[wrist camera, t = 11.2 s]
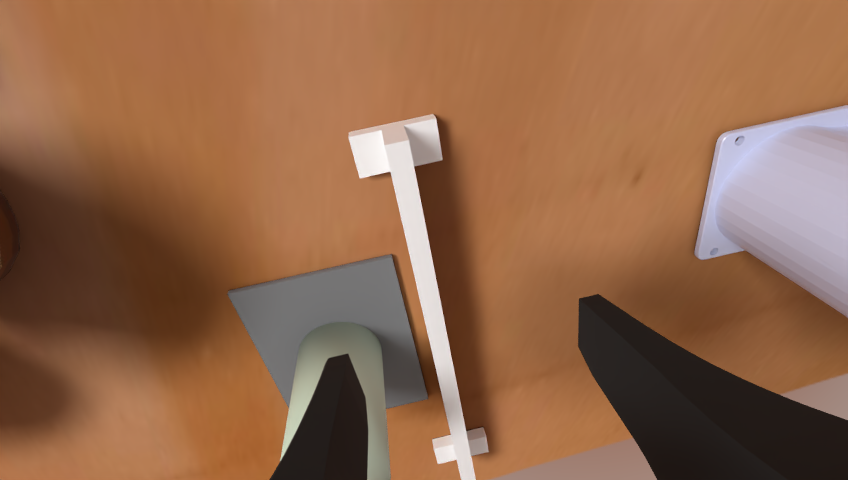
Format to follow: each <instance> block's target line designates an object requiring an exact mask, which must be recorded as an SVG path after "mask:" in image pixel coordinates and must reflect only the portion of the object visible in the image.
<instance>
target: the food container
mask: <svg viewBox="0 0 848 480" xmlns="http://www.w3.org/2000/svg"><path fill="white" fill-rule="evenodd" d="M19 250H20V243H19V228H18V224H17V221H16V218H15V215H14V213H13V211H12V209H11V207H10V205H9V203H8V201H7V200H6V198H5V197H4V196H3V194H2V193H1V192H0V280H1V279H2V278H3V277H4V276H5V275H6V274H7V273H8V272H9V271H10V269H11V267H12V265H13V263H14V261H15V259H16V256H17V254H18V252H19Z"/></svg>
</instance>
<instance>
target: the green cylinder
mask: <svg viewBox="0 0 848 480" xmlns="http://www.w3.org/2000/svg"><path fill="white" fill-rule="evenodd" d="M344 354H349V357H350V359H351V362H352V364H353V367H354V369H355V372H356V374H357V377H358V379H359V382H360V384H361V387H362V389H363V392H364V394H365V397H366V407H367V419H368V469H367V480H390V479H391V474H390V460H389V446H388V432H387V418H386V404H385V389H384V375H383V361H382V348H381V344H380V341H379V340H378V338H377V337H376V335H375V334H374V333H373V332H372V331H370V330H369V329H367V328H365V327H363V326H361V325H358V324H355V323H350V322H334V323H329V324H325V325H322V326H320V327H317V328H316V329H314V330H312V331H311V332H310V333H308V334H307V335H306V336H305V338H304V339H303V340H302V342H301V344H300V347H299V352H298V358H297V364H296V370H295V376H294V382H293V388H292V394H291V400H290V406H289V412H288V418H287V424H286V430H285V436H284V442H283V448H282V454H281V459H282V457H283V456H284V454H285V452H286V450H287V448H288V446H289V444H290V442H291V440H292V438H293V436H294V434H295V433H296V431H297V429H298V427H299V424H300V422H301V420H302V418H303V416H304V414H305V411H306V409H307V407H308V405H309V403H310V400H311V398H312V396H313V393H314V391H315V389H316V386H317V384H318V381H319V379H320V376H321V374H322V371H323V368H324V366H325V363H326V361H327V359H328V358H331V357H335V356H339V355H344ZM281 459H280V461H281Z"/></svg>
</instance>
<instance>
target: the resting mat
mask: <svg viewBox="0 0 848 480" xmlns="http://www.w3.org/2000/svg"><path fill="white" fill-rule="evenodd" d="M228 296H229V298H230V300H231V302H232V303H233V305H234V307H235V309H236V311H237V313H238V315H239V316H240V318H241V320H242V322H243V324H244V326H245V328H246V330H247V331H248V333H249V335H250V337H251V339H252V341H253V343H254V344H255V346H256V348H257V350H258V352H259V354H260V356H261V357H262V359H263V361H264V363H265V365H266V367H267V369H268V370H269V372H270V374H271V376H272V378H273V380H274V382H275V383H276V385H277V387H278V389H279V391H280V393H281V395H282V396H283V398H284V400H285V402H286V404H287V406H288V408H289V406H290V400H291V394H292V388H293V382H294V376H295V370H296V364H297V358H298V352H299V347H300V344H301V342H302V340H303V339H304V338H305V336H306V335H307V334H308V333H310V332H311V331H312V330H314V329H316V328H317V327H320V326H322V325H325V324H329V323H334V322H350V323H355V324H358V325H361V326H363V327H365V328H367V329H369V330H370V331H372V332H373V333H374V334H375V335H376V337H377V338H378V340H379V341H380V344H381V348H382V361H383V375H384V389H385V404H386V409H387V408H392V407H396V406H400V405H404V404H409V403H413V402H417V401H421V400H425V399H428V395H427V391H426V387H425V383H424V379H423V375H422V371H421V367H420V363H419V360H418V356H417V352H416V348H415V344H414V340H413V336H412V332H411V328H410V325H409V321H408V317H407V313H406V309H405V305H404V301H403V297H402V293H401V290H400V286H399V282H398V278H397V274H396V270H395V266H394V262H393V258H392V255H391V254H390V255H386V256H381V257H377V258H372V259H368V260H363V261H359V262H354V263H350V264H346V265H341V266H337V267H332V268H328V269H323V270H319V271H314V272H310V273H305V274H301V275H296V276H292V277H288V278H283V279H279V280H274V281H270V282H265V283H261V284H256V285H252V286H247V287H243V288H238V289H234V290H230V291H229V292H228Z"/></svg>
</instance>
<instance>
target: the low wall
mask: <svg viewBox="0 0 848 480" xmlns="http://www.w3.org/2000/svg"><path fill="white" fill-rule="evenodd" d="M349 141H350V144H351V148H352V152H353V155H354V159H355V163H356V166H357V170H358V174H359V177H360V178H363V177H368V176H373V175H377V174H382V173H386V172H391V176H392V180H393V185H394V189H395V193H396V198H397V202H398V206H399V211H400V215H401V219H402V224H403V228H404V232H405V237H406V241H407V245H408V250H409V254H410V259H411V263H412V267H413V272H414V276H415V280H416V285H417V289H418V293H419V298H420V302H421V306H422V311H423V315H424V319H425V324H426V328H427V333H428V337H429V341H430V346H431V350H432V354H433V359H434V363H435V367H436V372H437V376H438V380H439V385H440V389H441V393H442V398H443V402H444V406H445V411H446V415H447V420H448V424H449V428H450V433H451V435H448V436H444V437H440V438H435V439H432V441H433V447H434V451H435V455H436V459H437V462H438V464H440V463H445V462H449V461H453V460H457V463H458V467H459V472H460V476H461V480H476V479H475V474H474V469H473V464H472V458H471V456H474V455H478V454H482V453H486V452H489V451H488V445H487V439H486V434H485V431H484V427H481V428H477V429H473V430H469V431H466V428H465V423H464V418H463V413H462V408H461V403H460V397H459V392H458V387H457V382H456V377H455V372H454V367H453V362H452V357H451V352H450V347H449V342H448V337H447V331H446V326H445V321H444V316H443V311H442V306H441V301H440V296H439V291H438V286H437V281H436V276H435V270H434V265H433V260H432V255H431V250H430V245H429V240H428V235H427V230H426V225H425V220H424V215H423V209H422V204H421V199H420V194H419V189H418V184H417V179H416V174H415V169H414V166H418V165H423V164H428V163H432V162H437V161H441V160H443V158H442V152H441V146H440V139H439V133H438V127H437V120H436V117H435V116H434V114H431V115H426V116H422V117H417V118H412V119H408V120H403V121H398V122H394V123H389V124H384V125H380V126H375V127H370V128H366V129H361V130H356V131H352V132H349Z"/></svg>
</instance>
